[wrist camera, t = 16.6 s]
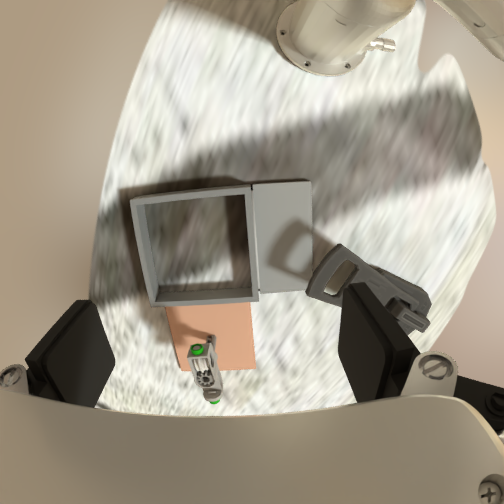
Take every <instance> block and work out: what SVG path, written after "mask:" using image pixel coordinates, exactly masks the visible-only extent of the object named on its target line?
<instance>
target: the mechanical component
mask: <svg viewBox="0 0 504 504" xmlns="http://www.w3.org/2000/svg"><path fill="white" fill-rule="evenodd" d="M211 339H212V340H211ZM216 339H217V338H216V336H215V335H211V338H209V336H207V339H206V343H204V344H199V343H197V344H193V345H190V349H189V351H188V355H187V359H188V362H189V365H190V368H191V370H192V373H193V376H194V381H195V383H196V385H198V386H199V387H201V388H203V391H204V393H203V395H204V398H205V400H207V401H209V402H210V403H211V404H217V403H218V402H219V401H220V399H221V397H222V394H223V382H222V377H221V374H220V371H219V367H218V364H217V359H218V355H217V353H216V352H215V347H216Z"/></svg>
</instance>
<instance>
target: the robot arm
mask: <svg viewBox="0 0 504 504" xmlns="http://www.w3.org/2000/svg"><path fill="white" fill-rule="evenodd" d="M433 1H434V2H436V3H437V4H438V5H439V6H441V7H442V8H443V9H444V10H446V11H447V12H448V13H449V14H450V15H451V16H452V17H454V18H455V19H456V20H457V21H458V22H459V23H460V24H461V25H462V26H463V27H464V28H465V29H466V30H467V31H469V32H470V33H471V34H472V35H473V36H474V37H475V38H476V39H477V40H478V41H479V42H480V43H481V44H482V45H483V46H484V47H485V48H486V49H487V50H488V51H489V52H491V53H492V54H493V55H494V56H495V57H497V58H498V59H500V60H502V61H503V62H504V0H433ZM415 2H416V0H298V1H297V2H294V3H293V4H291V5H289V6H288V7H287V8H286V9H285V10H284V11H283V12H282V14H281V15H280V17H279V19H278V22H277V27H276V37H277V40H278V44H279V46H280V48H281V50H282V51H283V53H284V54H285V55H286V57H287V58H288V59H289V60H290V61H291V62H293V63H294V64H295V65H297V66H298V67H300V68H301V69H303V70H305V71H307V72H309V73H312V74H316V75H320V76H339V75H343V74H346V73H348V72H350V71H352V70H353V69H355V68H356V67H357V66H358V65H359V64H360V63H361V62H362V61H363V59H364V58H365V55H366V52H367V50H370V51H373V50H374V49H380V50H382V51H388V52H394V50H395V47H396V46H395V42H394V41H393V40H391V39H385V38H377V37H378V36H380V35H381V34H383V33H384V32H385V31H387V30H388V29H389V28H391V27H392V26H394V25H395V24H397V23H398V22H399V21H401V20H402V19H404V18H405V17H406V16H407V15H408V14H409V13H410V12H411V10H412V9H413V7H414V5H415ZM281 33H283V34H284V35H281ZM305 64H307V65H308V66H305ZM345 66H347V68H346V67H345ZM338 354H339V358H340V360H341V363H342V365H343V368H344V370H345V373H346V375H347V378H348V380H349V383H350V385H351V388H352V391H353V393H354V396H355V398H356V401H357V403H354V404H347V405H341V406H335V407H329V408H322V409H314V410H306V411H297V412H288V413H277V414H264V415H247V416H173V415H156V414H143V413H132V412H123V411H114V410H107V409H100V408H94V407H95V405H96V403H97V401H98V399H99V397H100V395H101V393H102V391H103V389H104V386H105V384H106V382H107V380H108V378H109V376H110V374H111V372H112V370H113V368H114V366H115V357H114V354H113V352H112V349H111V347H110V344H109V341H108V339H107V336H106V333H105V331H104V328H103V325H102V322H101V319H100V316H99V313H98V310H97V307H96V305H95V304H94V303H92V301H91V300H76V301H75V302H74V303H73V304H72V305H71V307H70V308H69V309H68V310H67V311H66V312H65V313H64V314H63V315H62V317H60V319H59V320H58V321H57V322H56V323H55V324H54V325H53V326H52V328H51V329H50V330H49V331H48V332H47V333H46V334H45V336H44V337H43V338H42V339H41V341H39V343H38V344H37V345H36V346H35V348H34V349H33V350H32V351H31V352H30V354H29V355H28V356H27V357H26V358H25V361H26V363H27V365H28V367H29V368H28V370H26V369H25V367H24V366H23V365H20V364H14V365H10V366H8V367H6V368H5V369H3V370H2V371H1V372H0V504H504V388H501V387H497V386H494V385H490V384H486V383H482V382H479V381H476V380H472V379H469V378H465V377H462V376H458V366H457V364H456V362H455V361H454V360H453V359H452V358H451V357H450V356H448V355H447V354H444V353H441V352H436V351H429V352H424V353H420V352H419V351H418V349H417V348H416V346H415V345H414V344H413V342H412V341H411V340H410V338H409V337H408V336H407V334H406V333H405V332H404V330H403V329H402V328H401V326H400V325H399V324H398V322H397V321H396V320H395V318H394V317H393V316H392V315H391V314H389V312H388V311H387V310H386V308H385V307H384V306H383V305H382V303H381V302H380V301H379V299H378V298H377V297H376V296H375V294H374V293H373V292H372V291H371V289H370V288H369V287H368V286H367V284H366V283H365V282H359V283H350V284H349V285H348V288H344V290H343V298H342V311H341V323H340V333H339V343H338Z"/></svg>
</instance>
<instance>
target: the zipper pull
mask: <svg viewBox="0 0 504 504" xmlns="http://www.w3.org/2000/svg"><path fill="white" fill-rule="evenodd" d="M345 260H349V261H350V262H352V263H354V264H355V269H354V270H353V272H352V273H351V275H350V276H349V278H348V279H347V280H346V282H345V283H344V285H343V286H342V287H341V289H340V290H339V291H338V293H337V294H335V295H330V294H328V293H326V292H323V291H324V289H325V287H326V284H327V283H328V281H329V280H330V278H331V277H332V276H333V274H334V273H335V271H336V270H337V268H338V267H339V266H340V265H341V264H342V263H343V262H344V261H345ZM359 282H365V283H366V284H367V286H368V287H369V288H370V289H371V291H372V292H373V293H374V294H375V296H376V297H377V298H378V299H379V301H380V302H381V303H382V305H383V306H384V307H385V308H386V310H387V311H388V312H389V314H391V315H392V316H393V317H394V318H395V320H396V321H397V322H398V324H399V325H400V326H401V328H402V329H403V330H404V332H405V333H406V334H407V335H409V334H410V333H411V332H412V331H414V330H415V329H416V330H418V331H420V332H422V333H423V332H424V331H425V330H426V329H427V328H428V326H429V325H430V321H429V320H428V319H427V318H426V316H427V314H428V312H429V309H430V307H431V305H432V304H431V301H430V298H429V296H428V294H427V293H426V292H425V291H424V290H423V289H422V288H420V287H418V286H416V285H414V284H412V283H410V282H408V281H406V280H404V279H402V278H400V277H398V276H396V275H394V274H392V273H389V272H387V271H385V270H383V269H381V268H379V269H377V270H375V269H373V268H372V267H371V266H369V265H368V264H367V263H366V262H364V261H363V260H362V259H360V258H359V257H358V256H357V255H355V254H354V253H353V252H351V251H350V250H349V249H347V248H346V247H344V246H343V245H342V244H337V245H336V246H335V247H334V248H333V249H332V250H331V251H330V252H329V253H328V254H327V255H326V256H325V257H324V259H323V260H322V261H321V263H320V264H319V265H318V267H317V268H316V270H315V271H314V273H313V275H312V277H311V279H310V280H309V283H308V286H307V288H306V291H305V292H306V294H307V296H309V297H312V298H315V299H318V300H321V301H324V302H327V303H330V304H333V305H336V306H339V307H342V298H343V290H344V288H348V285H349V284H350V283H359Z"/></svg>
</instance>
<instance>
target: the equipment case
mask: <svg viewBox="0 0 504 504" xmlns="http://www.w3.org/2000/svg"><path fill="white" fill-rule="evenodd" d="M239 194H245V205H246V218H247V231H248V243H249V256H250V268H251V281H252V287H246V288H231V289H216V290H200V291H182V292H162V293H160V290H159V285H158V281H157V276H156V271H155V266H154V261H153V256H152V250H151V245H150V239H149V234H148V228H147V221H146V215H145V209H144V204H151V203H159V202H168V201H177V200H186V199H195V198H205V197H216V196H227V195H239ZM130 206H131V212H132V218H133V224H134V230H135V236H136V241H137V246H138V251H139V256H140V261H141V266H142V271H143V275H144V280H145V284H146V288H147V293H148V297H149V301H150V305H151V307H170V306H193V305H212V304H229V303H244V302H258V301H259V294H258V289H260V294H265V293H277V292H289V291H300V290H306V288H307V286H308V283H309V280H310V279H311V277H312V195H311V181H294V182H276V183H260V184H253V190H251V186H250V184H246V185H234V186H222V187H212V188H201V189H192V190H183V191H174V192H166V193H158V194H150V195H143V196H137V197H135V198H133V199H131V200H130Z"/></svg>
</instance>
